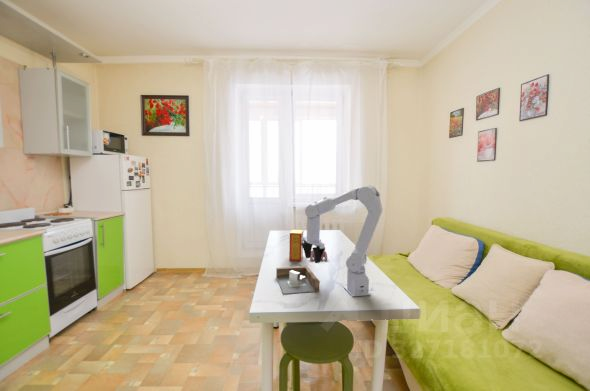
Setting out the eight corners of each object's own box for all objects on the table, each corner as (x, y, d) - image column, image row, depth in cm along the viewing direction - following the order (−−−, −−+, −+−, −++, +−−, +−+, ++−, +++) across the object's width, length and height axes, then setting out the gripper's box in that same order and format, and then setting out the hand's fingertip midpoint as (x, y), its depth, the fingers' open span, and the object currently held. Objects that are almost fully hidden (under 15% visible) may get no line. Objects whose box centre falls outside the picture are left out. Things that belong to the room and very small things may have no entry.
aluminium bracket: (297, 285, 111) (297, 274, 111) (289, 282, 114) (289, 271, 114) (305, 281, 116) (305, 270, 115) (297, 278, 119) (298, 267, 118)
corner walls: (319, 291, 106) (319, 281, 106) (283, 295, 103) (283, 284, 103) (307, 274, 124) (307, 265, 124) (276, 277, 121) (276, 268, 120)
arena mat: (318, 291, 107) (318, 290, 107) (283, 294, 103) (283, 293, 103) (307, 274, 124) (307, 273, 124) (276, 277, 121) (276, 275, 121)
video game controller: (326, 262, 148) (326, 249, 150) (328, 261, 143) (327, 248, 146) (309, 262, 147) (309, 249, 150) (310, 261, 143) (310, 248, 145)
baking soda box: (291, 255, 154) (292, 228, 153) (302, 255, 153) (303, 229, 152) (289, 260, 144) (289, 232, 143) (300, 261, 144) (301, 232, 142)
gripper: (330, 233, 112) (329, 263, 113) (311, 227, 125) (310, 254, 126) (317, 234, 108) (316, 266, 110) (299, 228, 121) (298, 256, 122)
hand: (312, 260), depth 117 cm, fingers open, 7 cm apart
